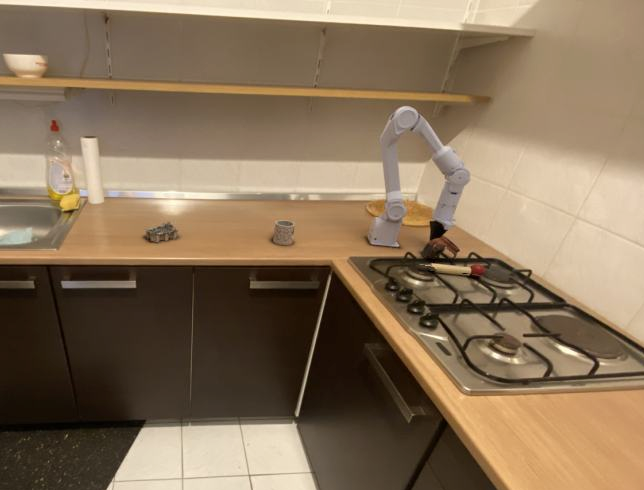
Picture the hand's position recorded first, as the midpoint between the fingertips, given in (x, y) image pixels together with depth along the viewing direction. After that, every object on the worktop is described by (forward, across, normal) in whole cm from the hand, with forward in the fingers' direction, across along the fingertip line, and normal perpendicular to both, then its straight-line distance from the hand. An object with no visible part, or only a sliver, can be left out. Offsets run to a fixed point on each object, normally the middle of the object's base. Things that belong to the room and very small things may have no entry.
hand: (433, 242), depth 133 cm
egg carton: (+3, -17, +93) cm, 94 cm away
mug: (+3, -6, +52) cm, 52 cm away
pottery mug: (+3, -8, +1) cm, 9 cm away
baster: (+2, -19, +1) cm, 20 cm away
